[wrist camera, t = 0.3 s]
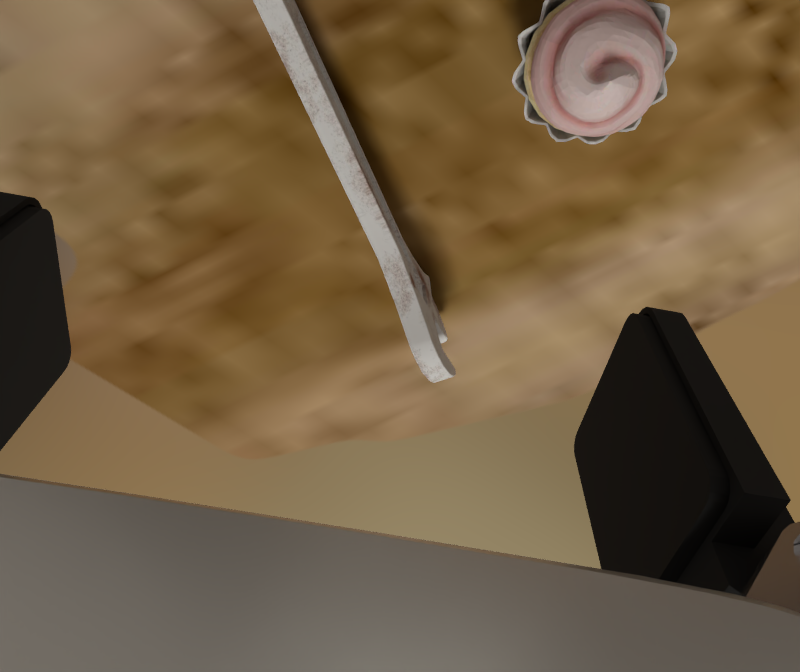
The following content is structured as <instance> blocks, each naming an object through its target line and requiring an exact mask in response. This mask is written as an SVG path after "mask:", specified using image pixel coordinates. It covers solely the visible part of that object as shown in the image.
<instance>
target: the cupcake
mask: <svg viewBox="0 0 800 672" xmlns="http://www.w3.org/2000/svg"><path fill="white" fill-rule="evenodd" d="M669 16H670V7H668V6H666V5H665V4H660V3H654V2H648V1H646V0H545V1H544V3H543V8H542V12H541V16H540V20H539V22H538V23H537V24H535V25H533V26H531V27H530V28H528V29H526V30H524V31H523V32H522V33H521V34H520V35H519V36H518V45H519V49H520V52H521V56H522V59H523V60H522V62H521V63H520V65H519V66H518V68H517V69H516V71H515V73H514V75H513V79H512V83H513V85H514V87H515V88H516V89H517V90H518V91H519V92H520V93H521V94H522V95H523V96H524V97H526V99H525V108H524V114H525V119H526V120H527V121H529V122H531V123H534V124H541V125H546V127H547V129H548V132H549V134H550V136H551V137H552V138H553V139H554V140H556V141H557V142H566V141H569V140H572V139H574V138H577V137H578V138H579V139H581V140H582V141H584V142H585V143H587V144H597V143H600V142H603V141H604V140H605V139H606V138H607V137H608V136H609V135H610V134H613V133H615V132H628V131H631V130H635V129H636V127H637V126H638V124H639V123H640V121H641V118H642V115H643V114H644V113H645V112H646V111H647V109H648V108H649V107H650V106H651V105H653V104H655V103H657V102H659V101H661V100H662V99H663V98H665V97H666V96H667V85H666V79H665V72H666V70H667V69H668V68H669V67H670V65H671V64H672V63H673V62H674V60H675V57H676V54H677V48H676V45H675V43H674V42H673V41H672V40H671V38H670V37H669V36H668V35H667V34H666V30H667V26H668V21H669Z"/></svg>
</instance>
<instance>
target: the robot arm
mask: <svg viewBox="0 0 800 672" xmlns="http://www.w3.org/2000/svg"><path fill="white" fill-rule="evenodd" d="M70 356H71V345H70V338H69V331H68V324H67V317H66V310H65V303H64V296H63V289H62V282H61V275H60V269H59V261H58V254H57V247H56V240H55V233H54V226H53V220H52V216H51V214H50V212H49V211H48V210H47V209H42V207H41V205H40V203H39V201H38V200H36V199H35V198H32V197H26V196H21V195H15V194H9V193H4V192H0V451H1V449H2V448H3V447H4V446H5V444H6V443H7V442H8V440H9V439H10V438H11V437H12V436H13V434H14V433H15V432H16V430H17V429H18V428H19V427H20V426H21V424H22V423H23V422H24V421H25V419H26V418H27V417H28V416H29V414H30V413H31V412H32V411H33V409H34V408H35V407H36V406H37V404H38V403H39V402H40V401H41V399H42V398H43V397H44V396H45V394H46V393H47V392H48V391H49V389H50V388H51V387H52V386H53V384H54V383H55V382H56V381H57V379H58V378H59V377H60V376H61V375H62V373H63V372H64V371H65V369H66V368H67V366H68V363H69V360H70ZM574 453H575V458H576V462H577V467H578V471H579V475H580V479H581V484H582V488H583V492H584V496H585V501H586V505H587V509H588V513H589V518H590V522H591V526H592V530H593V534H594V539H595V543H596V547H597V552H598V556H599V560H600V564H601V569H597V568H591V567H585V566H579V565H573V564H567V563H561V562H555V561H549V560H543V559H537V558H531V557H525V556H518V555H512V554H506V553H500V552H493V551H488V550H481V549H475V548H469V547H463V546H457V545H451V544H444V543H439V542H433V541H426V540H420V539H414V538H408V537H402V536H396V535H389V534H384V533H377V532H371V531H365V530H359V529H352V528H345V527H340V526H333V525H327V524H321V523H314V522H308V521H302V520H295V519H289V518H283V517H277V516H270V515H264V514H258V513H251V512H245V511H238V510H232V509H226V508H219V507H213V506H207V505H200V504H193V503H187V502H181V501H174V500H168V499H162V498H155V497H148V496H142V495H136V494H129V493H122V492H116V491H109V490H103V489H97V488H90V487H83V486H77V485H70V484H63V483H57V482H50V481H44V480H37V479H31V478H24V477H17V476H10V475H4V474H0V672H800V522H797V523H795V522H794V521H793V519H792V517H791V515H790V514H789V512H788V510H787V508H786V506H787V505H788V503H789V502H790V498H789V496H788V495H787V493H786V491H785V489H784V488H783V486H782V484H781V483H780V481H779V479H778V478H777V476H776V474H775V472H774V470H773V469H772V467H771V465H770V464H769V462H768V460H767V458H766V457H765V455H764V453H763V451H762V450H761V448H760V446H759V444H758V443H757V441H756V439H755V437H754V436H753V434H752V432H751V430H750V429H749V427H748V425H747V423H746V422H745V420H744V418H743V417H742V415H741V413H740V411H739V410H738V408H737V406H736V404H735V403H734V401H733V399H732V397H731V396H730V394H729V392H728V391H727V389H726V387H725V385H724V384H723V382H722V380H721V378H720V377H719V375H718V373H717V372H716V370H715V368H714V366H713V364H712V363H711V361H710V359H709V358H708V356H707V354H706V352H705V351H704V349H703V347H702V345H701V344H700V342H699V340H698V338H697V337H696V335H695V333H694V331H693V330H692V328H691V326H690V324H689V323H688V321H687V319H686V318H685V316H684V315H683V314H682V313H678V312H673V311H667V310H662V309H656V308H650V307H645V308H643V309H642V310H641V312H640V313H639V314H634V313H632V314H630V315H629V317H628V318H627V320H626V322H625V324H624V326H623V328H622V331H621V333H620V335H619V338H618V340H617V342H616V344H615V347H614V349H613V351H612V354H611V356H610V358H609V360H608V363H607V365H606V367H605V370H604V372H603V374H602V376H601V379H600V381H599V383H598V386H597V388H596V390H595V392H594V395H593V397H592V399H591V402H590V404H589V406H588V409H587V411H586V413H585V415H584V418H583V420H582V422H581V425H580V427H579V429H578V431H577V434H576V438H575V444H574Z"/></svg>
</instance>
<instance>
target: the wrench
mask: <svg viewBox="0 0 800 672" xmlns="http://www.w3.org/2000/svg"><path fill="white" fill-rule="evenodd" d="M253 1H254V3H255V5H256V7H257V9H258V11H259V14H260V16H261V18H262V20H263V22H264V24H265V26H266V28H267V30H268V32H269V34H270V36H271V38H272V40H273V43H274V45H275V47H276V49H277V51H278V53H279V55H280V57H281V59H282V61H283V63H284V65H285V67H286V69H287V72H288V74H289V76H290V78H291V80H292V82H293V84H294V86H295V88H296V90H297V92H298V94H299V96H300V98H301V100H302V103H303V105H304V107H305V109H306V111H307V113H308V115H309V117H310V119H311V121H312V123H313V125H314V127H315V129H316V132H317V134H318V136H319V138H320V140H321V142H322V144H323V146H324V148H325V150H326V152H327V154H328V156H329V158H330V161H331V163H332V165H333V167H334V169H335V171H336V173H337V175H338V177H339V179H340V181H341V183H342V185H343V187H344V190H345V192H346V194H347V196H348V198H349V200H350V202H351V204H352V206H353V208H354V210H355V212H356V214H357V216H358V219H359V221H360V223H361V225H362V227H363V229H364V231H365V233H366V235H367V237H368V239H369V241H370V243H371V245H372V248H373V250H374V252H375V254H376V256H377V258H378V260H379V263H380V265H381V268H382V270H383V273H384V276H385V278H386V281H387V283H388V286H389V289H390V291H391V294H392V297H393V299H394V302H395V305H396V307H397V310H398V313H399V316H400V319H401V322H402V325H403V328H404V331H405V333H406V336H407V339H408V342H409V345H410V348H411V351H412V353H413V355H414V358H415V360H416V362H417V364H418V365H419V367H420V369H421V371H422V373H423V374H424V375H425V376H426V377H427V379H428V380H429V381H431V382H433V383H435V382H438V381H441V380H444V379H447V378H451V377H453V376H455V375H456V372H455V368H454V367H453V365H452V363H451V362H450V360H449V359H448V357H447V356H446V354H445V353H444V351H443V349H442V347H441V343H444V342H446V341H447V334H446V331H445V328H444V325H443V322H442V320H441V317H440V314H439V312H438V309H437V306H436V304H435V302H434V300H433V298H432V294H431V286H430V278H429V276H428V275H426V274H425V273H424V272H423V271H422V269H421V268H420V266H419V265H418V263H417V262H416V260H415V259H414V257H413V256H412V254H411V252H410V250H409V249H408V247H407V245H406V243H405V242H404V240H403V238H402V235H401V233H400V231H399V229H398V227H397V225H396V222H395V220H394V218H393V216H392V214H391V212H390V209H389V207H388V205H387V203H386V201H385V199H384V196H383V194H382V192H381V190H380V187H379V185H378V183H377V181H376V179H375V176H374V174H373V172H372V170H371V168H370V165H369V163H368V161H367V159H366V157H365V154H364V152H363V150H362V148H361V146H360V143H359V141H358V139H357V137H356V134H355V132H354V130H353V128H352V126H351V123H350V121H349V119H348V117H347V115H346V112H345V110H344V108H343V106H342V104H341V102H340V99H339V97H338V95H337V93H336V91H335V88H334V86H333V84H332V82H331V80H330V77H329V75H328V73H327V71H326V69H325V66H324V64H323V62H322V60H321V58H320V55H319V53H318V51H317V49H316V46H315V44H314V42H313V40H312V38H311V35H310V33H309V31H308V29H307V26H306V24H305V22H304V20H303V18H302V15H301V13H300V11H299V9H298V7H297V4H296V2H295V0H253Z"/></svg>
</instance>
